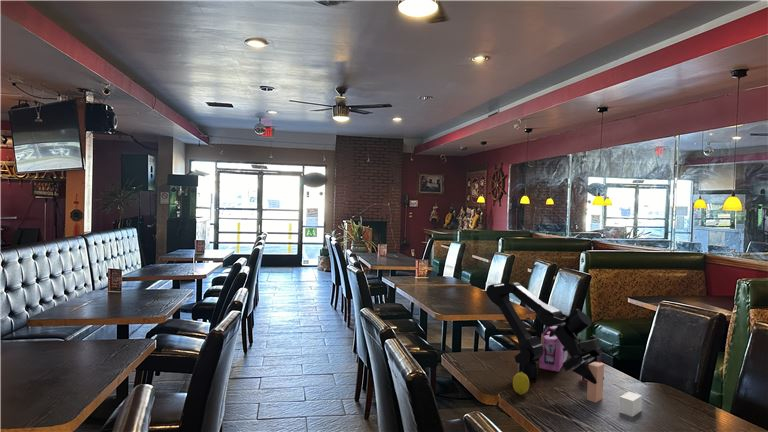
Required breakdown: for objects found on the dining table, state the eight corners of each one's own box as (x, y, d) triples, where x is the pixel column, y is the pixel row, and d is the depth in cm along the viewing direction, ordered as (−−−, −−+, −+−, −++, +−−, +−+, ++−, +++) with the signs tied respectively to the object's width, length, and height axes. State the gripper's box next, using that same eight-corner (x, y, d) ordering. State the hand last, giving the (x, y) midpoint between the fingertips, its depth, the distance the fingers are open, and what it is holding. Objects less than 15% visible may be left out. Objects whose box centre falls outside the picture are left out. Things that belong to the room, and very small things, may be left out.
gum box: (558, 373, 185) (560, 339, 185) (538, 369, 189) (539, 335, 189) (567, 356, 206) (569, 326, 206) (549, 353, 210) (550, 323, 210)
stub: (586, 399, 159) (588, 364, 159) (593, 396, 162) (595, 361, 162) (595, 402, 157) (597, 366, 156) (602, 398, 160) (604, 363, 160)
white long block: (577, 399, 160) (578, 383, 160) (587, 394, 165) (588, 378, 165) (632, 418, 147) (633, 401, 147) (641, 412, 151) (642, 395, 151)
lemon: (529, 393, 164) (530, 370, 164) (528, 399, 159) (529, 375, 159) (512, 390, 166) (513, 368, 166) (511, 396, 161) (512, 373, 161)
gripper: (572, 332, 156) (605, 375, 148) (598, 324, 168) (629, 363, 160) (549, 350, 162) (579, 392, 154) (576, 341, 174) (605, 379, 166)
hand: (599, 381), depth 158 cm, fingers closed on stub, 5 cm apart
